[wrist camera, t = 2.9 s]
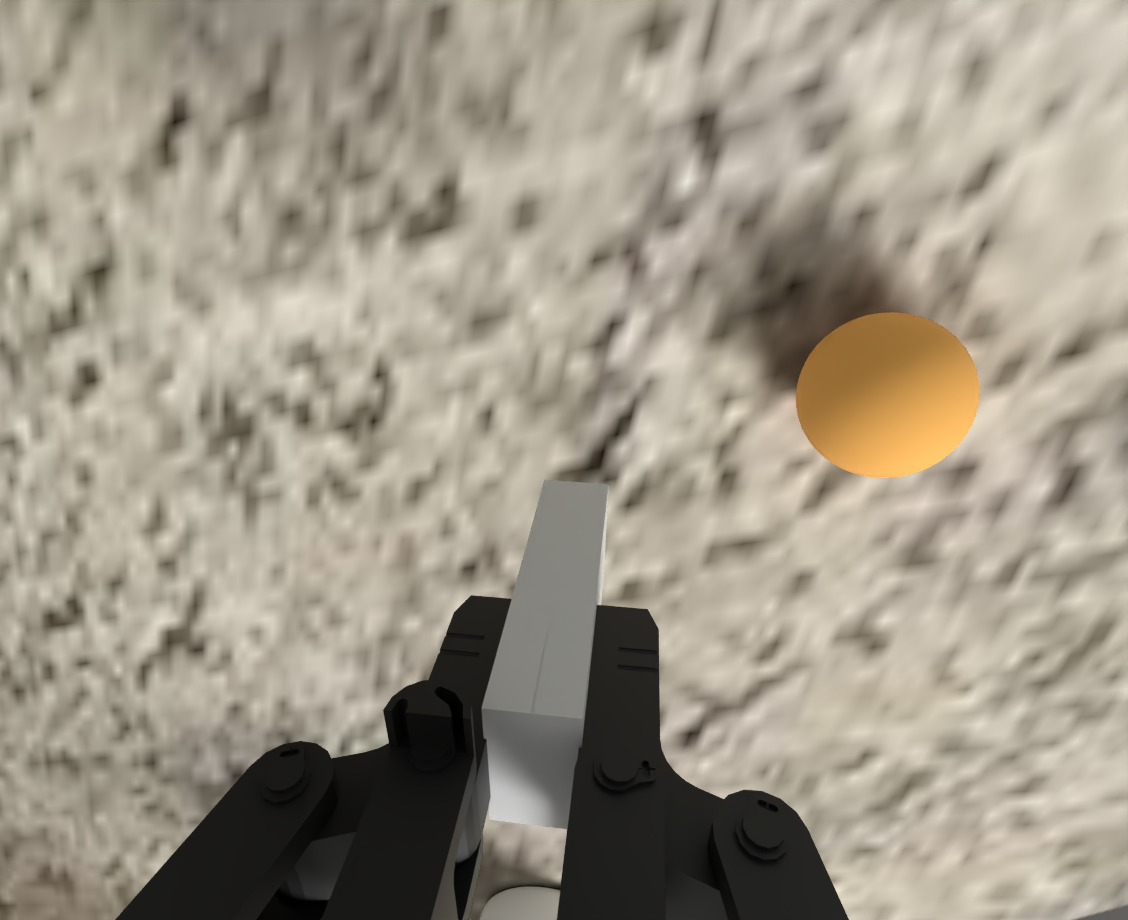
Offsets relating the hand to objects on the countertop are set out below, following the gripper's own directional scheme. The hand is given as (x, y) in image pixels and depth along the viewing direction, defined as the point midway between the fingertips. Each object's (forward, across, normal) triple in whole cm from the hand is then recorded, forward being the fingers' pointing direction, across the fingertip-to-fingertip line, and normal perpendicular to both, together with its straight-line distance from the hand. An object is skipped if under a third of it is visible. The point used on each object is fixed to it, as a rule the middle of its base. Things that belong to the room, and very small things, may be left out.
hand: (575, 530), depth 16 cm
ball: (+9, +10, 0) cm, 13 cm away
